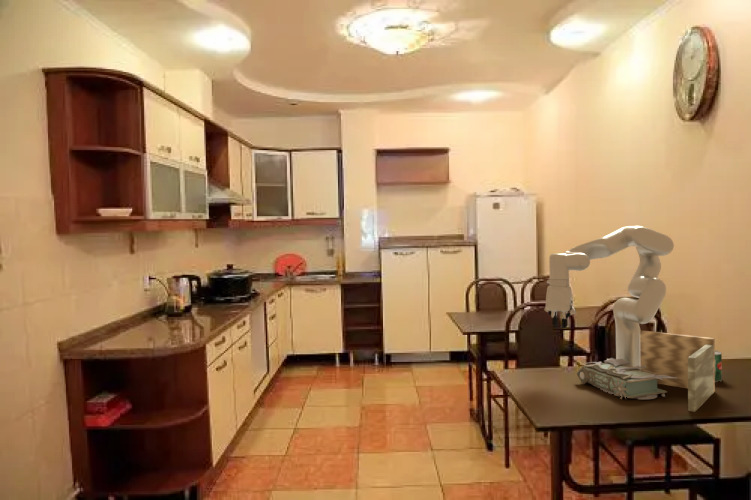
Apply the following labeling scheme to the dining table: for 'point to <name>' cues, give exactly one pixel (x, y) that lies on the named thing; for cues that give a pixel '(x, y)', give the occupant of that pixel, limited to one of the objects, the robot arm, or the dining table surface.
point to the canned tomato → (718, 366)
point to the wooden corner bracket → (681, 363)
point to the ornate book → (622, 379)
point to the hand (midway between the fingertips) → (559, 327)
